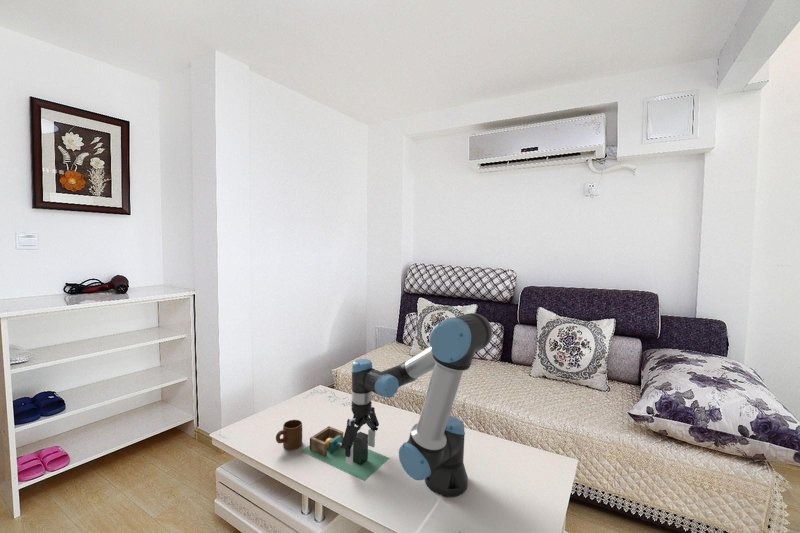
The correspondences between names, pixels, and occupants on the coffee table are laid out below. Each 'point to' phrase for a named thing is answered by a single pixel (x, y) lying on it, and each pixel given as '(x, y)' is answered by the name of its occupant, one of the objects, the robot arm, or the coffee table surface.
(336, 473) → the coffee table surface
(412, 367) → the robot arm
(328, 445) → the ball
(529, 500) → the coffee table surface
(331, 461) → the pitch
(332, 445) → the rod
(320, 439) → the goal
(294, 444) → the mug
